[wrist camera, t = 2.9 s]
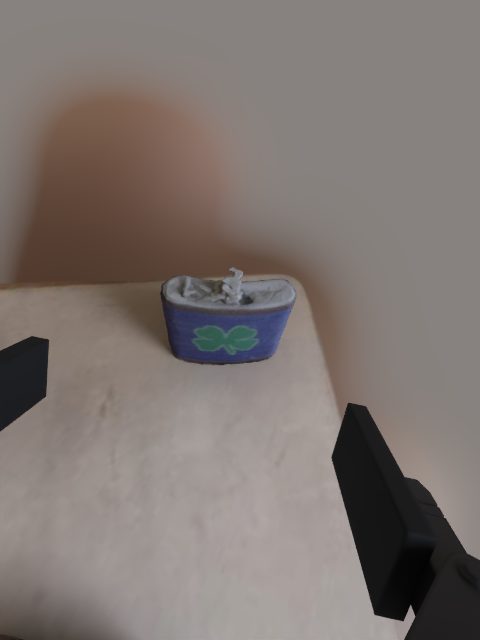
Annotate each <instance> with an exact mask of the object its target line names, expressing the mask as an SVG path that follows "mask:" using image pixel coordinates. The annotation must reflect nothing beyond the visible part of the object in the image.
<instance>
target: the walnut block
mask: <svg viewBox="0 0 480 640" xmlns="http://www.w3.org/2000/svg"><path fill="white" fill-rule="evenodd" d="M0 640H21V639H17V638H13V637H9V636H5V635H0Z"/></svg>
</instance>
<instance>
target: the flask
mask: <svg viewBox="0 0 480 640" xmlns="http://www.w3.org/2000/svg"><path fill="white" fill-rule="evenodd" d="M229 270H230V271H232V272H234V275H233V276H232V277H229V276H225V278H224V279H222V280H221V281H219V280H218V281H213V280H203V279H200V278H194V277H192V276H189V275H185V276H183V275H178V276H174V277H173V278H172V279H169V280H167V281H166V282H165V283H163V284H162V286H161V288H162V290H161V293H160V295H161V300H162V305H163V311H164V316H165V320H166V326H167V330H168V338H169V342H170V346H171V349H172V352H173V354H174V356H175V357H176V358H178V359H179V360H183V361H185V362H189V363H190V362H191V363H198V364H207V365H224V364H236V363H237V364H238V363H239V364H240V363H250V362H258V361H262V360H265V359H267V358H269V357H271V356H272V355H273V354H274V353H275V352H276V350H277V346H278V344H279V340H280V338H281V335H282V333H283V330H284V328H285V326H286V322H287V320H288V317H289V314H290V312H291V309H292V307H293V305H294V302H295V299H296V290H295V289H294V288H293V286H292V285H291V284H290V283H289V282H288V281H287V280H283V279H271V280H261V281H252V282H248V281H246V282H241V281H240V278H241V277H242V276H243V272H242V271H240V270H236V269H235V268H230V269H229Z"/></svg>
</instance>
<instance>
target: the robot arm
mask: <svg viewBox="0 0 480 640" xmlns="http://www.w3.org/2000/svg"><path fill="white" fill-rule="evenodd" d="M48 348H49V340H48V339H43V338H38V337H34V336H31V337H29V338H27V339H25V340H22V341H20V342H18V343H16V344H14V345H12V346H9V347H7V348H5V349H3V350H1V351H0V431H2V430H3V429H4V428H5V427H7V426H8V425H9V424H11V423H12V422H13V421H15V420H16V419H17V418H18V417H20V416H21V415H22V414H24V413H25V412H26V411H28V410H29V409H30V408H32V407H33V406H34V405H35V404H37V403H38V402H39V401H41V400H42V399H43V398H45V397H46V387H47V368H48ZM331 458H332V461H333V465H334V469H335V472H336V476H337V479H338V483H339V487H340V490H341V494H342V498H343V501H344V505H345V509H346V512H347V516H348V520H349V523H350V527H351V530H352V534H353V538H354V541H355V545H356V549H357V552H358V556H359V560H360V563H361V567H362V570H363V574H364V578H365V581H366V585H367V589H368V592H369V596H370V600H371V603H372V607H373V610H374V614H375V615H377V616H382V617H386V618H391V619H395V620H400V621H404V619H405V616H406V614H407V612H408V609H409V607H410V605H411V606H412V609H413V611H414V614H415V619H414V621H413V623H412V625H411V627H410V629H409V631H408V633H407V635H406V637H405V639H404V640H480V560H478V559H476V558H474V557H473V556H471V555H469V554H467V553H466V551H465V549H464V548H463V546H462V544H461V543H460V541H459V540H458V538H457V536H456V535H455V533H454V531H453V530H452V528H451V526H450V525H449V523H448V521H447V520H446V518H444V515H443V514H442V512H441V510H440V508H439V507H437V503H436V502H435V500H434V499H433V497H432V495H431V494H430V492H429V491H428V490H427V489H426V488H425V487H423V485H422V484H421V483H420V482H419V481H418V480H415V479H411V478H406V477H404V475H403V473H402V472H401V470H400V468H399V466H398V464H397V463H396V461H395V459H394V457H393V455H392V453H391V451H390V450H389V448H388V446H387V445H386V442H385V440H384V439H383V437H382V435H381V433H380V431H379V430H378V428H377V426H376V424H375V422H374V420H373V419H372V417H371V415H370V413H369V411H368V409H367V407H366V406H362V405H357V404H352V403H348V405H347V408H346V411H345V415H344V418H343V421H342V425H341V428H340V431H339V434H338V438H337V441H336V444H335V448H334V451H333V454H332V457H331Z"/></svg>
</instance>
